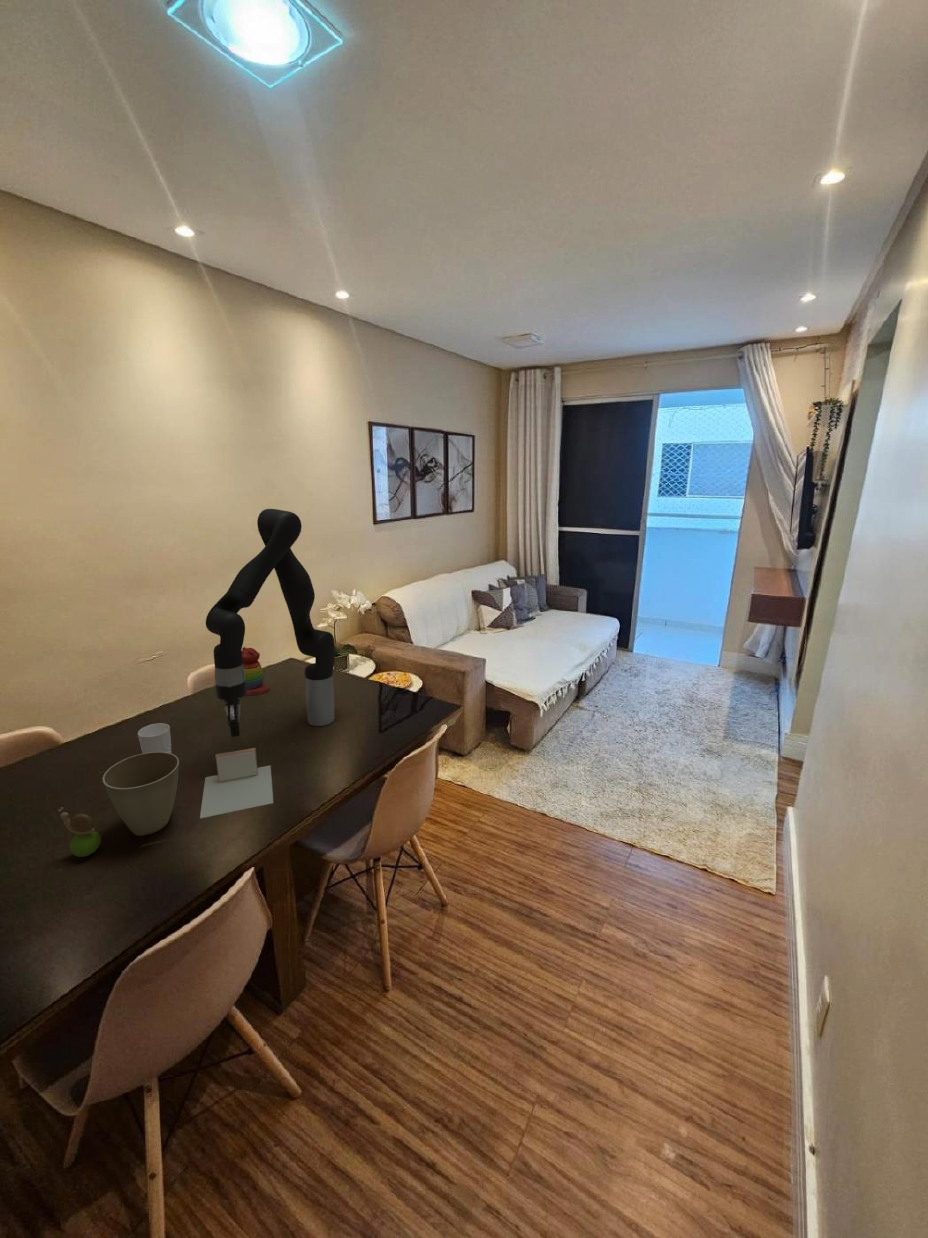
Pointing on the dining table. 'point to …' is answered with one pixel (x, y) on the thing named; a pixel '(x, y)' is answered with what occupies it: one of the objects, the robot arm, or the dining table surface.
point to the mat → (236, 793)
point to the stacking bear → (253, 672)
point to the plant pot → (143, 790)
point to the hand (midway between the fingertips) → (235, 735)
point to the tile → (236, 764)
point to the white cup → (155, 738)
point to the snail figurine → (81, 834)
